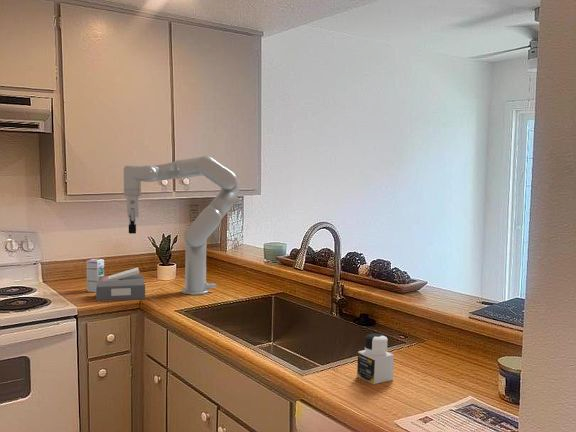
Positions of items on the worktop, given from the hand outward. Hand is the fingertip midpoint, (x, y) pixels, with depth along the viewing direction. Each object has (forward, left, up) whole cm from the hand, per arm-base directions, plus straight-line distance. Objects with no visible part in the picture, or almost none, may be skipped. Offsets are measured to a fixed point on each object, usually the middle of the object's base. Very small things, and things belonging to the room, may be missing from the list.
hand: (132, 233), depth 247 cm
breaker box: (+5, +9, -27) cm, 29 cm away
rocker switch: (+5, +9, -18) cm, 21 cm away
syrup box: (+16, -6, -27) cm, 32 cm away
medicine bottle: (-61, +124, -27) cm, 141 cm away
